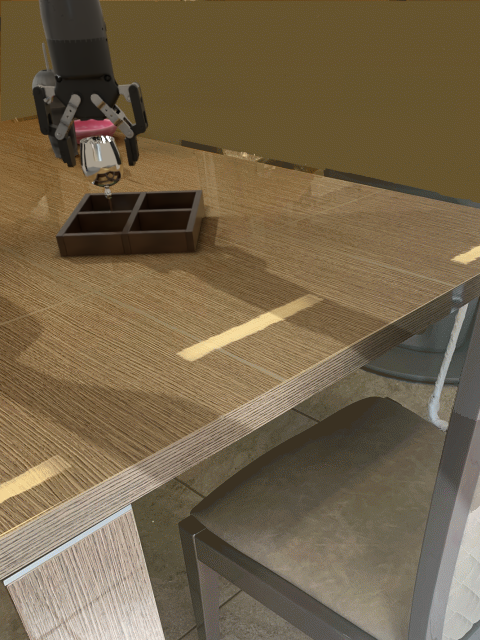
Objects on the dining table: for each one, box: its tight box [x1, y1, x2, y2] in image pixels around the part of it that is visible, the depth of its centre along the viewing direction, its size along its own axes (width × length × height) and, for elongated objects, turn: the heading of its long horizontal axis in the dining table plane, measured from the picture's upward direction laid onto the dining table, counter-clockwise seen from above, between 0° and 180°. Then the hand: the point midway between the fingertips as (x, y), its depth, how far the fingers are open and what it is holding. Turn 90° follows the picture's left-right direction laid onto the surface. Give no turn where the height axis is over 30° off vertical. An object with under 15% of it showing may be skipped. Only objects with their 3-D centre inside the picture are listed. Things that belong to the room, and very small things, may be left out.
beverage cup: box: [31, 42, 79, 159], centre depth 125 cm, size 7×7×20 cm
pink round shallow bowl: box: [74, 118, 118, 145], centre depth 141 cm, size 12×12×3 cm
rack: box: [55, 189, 206, 258], centre depth 93 cm, size 18×18×4 cm
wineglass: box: [79, 136, 125, 211], centre depth 93 cm, size 6×6×12 cm
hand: (102, 165), depth 92 cm, fingers open, 8 cm apart
